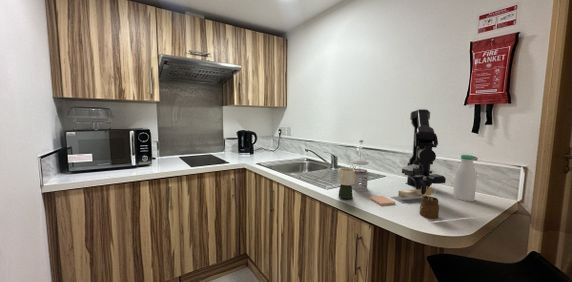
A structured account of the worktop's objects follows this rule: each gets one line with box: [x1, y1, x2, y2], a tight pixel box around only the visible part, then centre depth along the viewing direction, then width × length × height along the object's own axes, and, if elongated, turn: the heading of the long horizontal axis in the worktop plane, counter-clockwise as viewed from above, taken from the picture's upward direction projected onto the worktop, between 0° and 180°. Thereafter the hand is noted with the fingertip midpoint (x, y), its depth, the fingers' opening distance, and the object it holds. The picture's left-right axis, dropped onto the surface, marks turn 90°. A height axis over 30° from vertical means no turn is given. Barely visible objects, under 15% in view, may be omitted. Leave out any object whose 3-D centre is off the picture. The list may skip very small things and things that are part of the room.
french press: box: [349, 139, 369, 192], centre depth 114 cm, size 10×12×25 cm
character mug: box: [337, 167, 355, 200], centre depth 103 cm, size 11×7×13 cm, turn 141°
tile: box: [368, 195, 396, 207], centre depth 99 cm, size 2×8×7 cm
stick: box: [397, 188, 428, 198], centre depth 102 cm, size 14×2×2 cm, turn 103°
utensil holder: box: [419, 186, 440, 220], centre depth 84 cm, size 6×6×12 cm
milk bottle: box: [452, 154, 478, 203], centre depth 103 cm, size 8×8×20 cm
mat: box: [390, 196, 423, 204], centre depth 102 cm, size 18×8×1 cm, turn 103°
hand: (420, 193), depth 103 cm, fingers closed on stick, 2 cm apart
